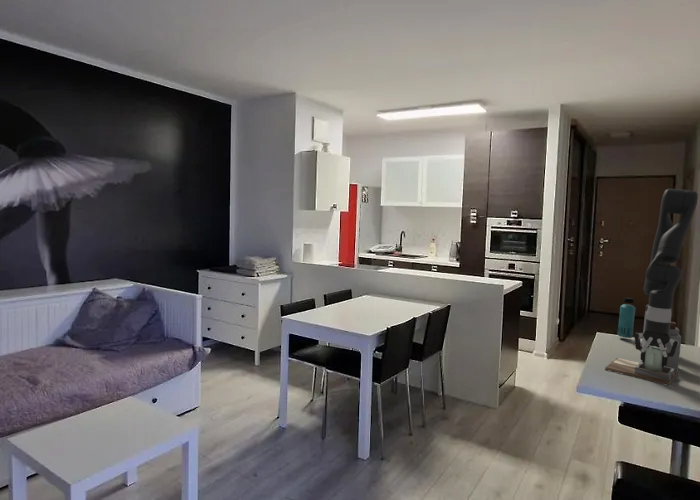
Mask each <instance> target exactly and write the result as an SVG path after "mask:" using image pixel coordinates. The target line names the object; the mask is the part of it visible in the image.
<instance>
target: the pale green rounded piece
mask: <svg viewBox="0 0 700 500" xmlns="http://www.w3.org/2000/svg"><path fill="white" fill-rule="evenodd" d="M662 358H663V353H662V351H661V349H660V348H659V347H655V346H649V347H647V348H646V353H645V362H644V369H647V370H651V371H655V372H662Z"/></svg>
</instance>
